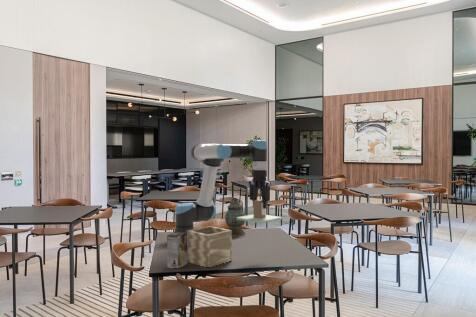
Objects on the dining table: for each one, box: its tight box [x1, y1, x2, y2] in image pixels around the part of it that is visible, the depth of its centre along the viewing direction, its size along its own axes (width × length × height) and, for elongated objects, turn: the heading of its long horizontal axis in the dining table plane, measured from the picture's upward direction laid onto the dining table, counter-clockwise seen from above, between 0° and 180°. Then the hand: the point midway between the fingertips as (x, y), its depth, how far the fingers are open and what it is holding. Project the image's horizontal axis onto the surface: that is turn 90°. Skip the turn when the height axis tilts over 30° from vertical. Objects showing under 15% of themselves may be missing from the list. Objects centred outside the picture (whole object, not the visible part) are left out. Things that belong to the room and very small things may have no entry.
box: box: [187, 225, 233, 268], centre depth 188 cm, size 16×16×16 cm
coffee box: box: [166, 232, 188, 269], centre depth 181 cm, size 9×6×16 cm
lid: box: [237, 198, 284, 224], centre depth 191 cm, size 17×17×10 cm
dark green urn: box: [224, 197, 246, 237], centre depth 255 cm, size 14×14×25 cm
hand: (259, 214), depth 191 cm, fingers closed on lid, 4 cm apart
